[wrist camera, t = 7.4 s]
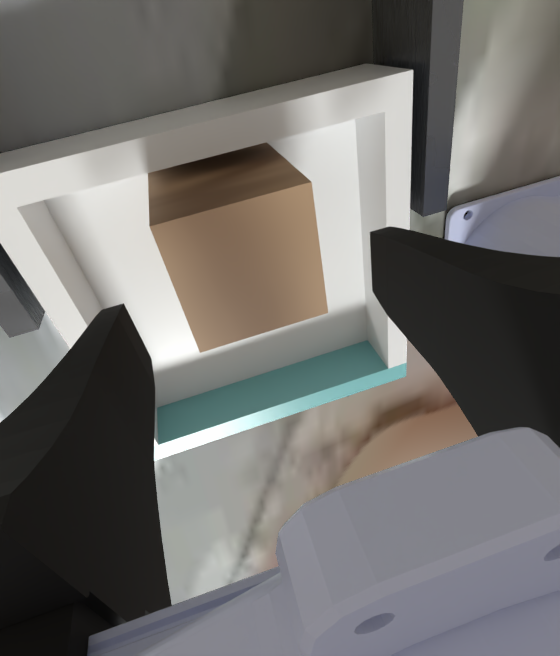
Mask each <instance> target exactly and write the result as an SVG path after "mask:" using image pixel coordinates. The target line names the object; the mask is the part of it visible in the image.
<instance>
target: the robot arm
mask: <svg viewBox="0 0 560 656" xmlns="http://www.w3.org/2000/svg"><path fill="white" fill-rule="evenodd" d="M467 211H468V213H467V215H466V216H465V217H464V214H465V213H466V212H467ZM370 250H371V273H372V291H373V293H374V295H375V296H376V298H377V300H378V301H379V303H380V305H381V306H382V308H383V309H384V311H385V312H386V314H387V315H388V317H389V318H390V319H391V320H392V321H393V323H394V324H395V325H396V326H397V327H398V328H399V330H400V331H401V332H402V333H403V334H404V335H405V337H406V338H407V339H408V340H409V341H410V342H411V343H412V345H413V346H414V347H415V348H416V349H417V350H418V352H419V353H420V354H421V355H422V356H423V357H424V358H425V360H426V361H427V362H428V363H429V364H430V365H431V367H432V368H433V369H434V370H435V372H436V373H437V374H438V376H439V377H440V378H441V380H442V381H443V383H444V384H445V386H446V387H447V389H448V390H449V392H450V393H451V395H452V396H453V398H454V399H455V400H456V402H457V404H458V405H459V407H460V408H461V410H462V411H463V413H464V414H465V416H466V418H467V419H468V421H469V422H470V424H471V425H472V427H473V429H474V430H475V432H476V434H477V435H478V437H476V438H473V439H470V440H467V441H464V442H461V443H459V444H456V445H453V446H450V447H447V448H444V449H442V450H439V451H436V452H433V453H430V454H428V455H425V456H422V457H419V458H416V459H413V460H411V461H408V462H405V463H402V464H400V465H396V466H394V467H391V468H388V469H385V470H382V471H380V472H377V473H374V474H371V475H368V476H365V477H363V478H360V479H357V480H354V481H351V482H349V483H346V484H343V485H340V486H337V487H335V488H333V489H331V490H329V491H327V492H325V493H323V494H321V495H319V496H317V497H316V498H314V499H312V500H310V501H308V502H306V503H304V504H303V505H302V506H301V507H300V508H299V509H298V510H297V511H296V512H295V513H294V514H293V515H292V516H291V518H290V519H289V520H288V521H287V522H286V523H285V524H284V525H283V526H282V528H281V530H280V531H279V533H278V540H277V547H276V556H277V560H278V564H279V566H278V567H275V568H273V569H270V570H267V571H264V572H262V573H259V574H256V575H254V576H251V577H248V578H245V579H243V580H240V581H237V582H235V583H232V584H229V585H226V586H224V587H221V588H218V589H216V590H213V591H210V592H208V593H205V594H202V595H199V596H197V597H194V598H191V599H189V600H186V601H183V602H180V603H178V604H175V605H171V599H170V592H169V586H168V580H167V573H166V566H165V559H164V551H163V544H162V537H161V528H160V520H159V511H158V503H157V492H156V482H155V471H154V434H155V381H154V373H153V366H152V359H151V357H150V355H149V353H148V351H147V349H146V347H145V345H144V343H143V341H142V339H141V337H140V335H139V333H138V331H137V329H136V327H135V325H134V323H133V321H132V319H131V317H130V315H129V313H128V311H127V309H126V307H125V305H124V303H123V304H120V305H116V306H113V307H109V308H106V309H102V310H101V311H100V312H99V313H98V314H97V315H96V316H95V318H94V319H93V320H92V322H91V323H90V324H89V325H88V327H87V328H86V329H85V331H84V332H83V333H82V335H81V336H80V337H79V339H78V340H77V341H76V342H75V344H74V345H73V346H72V348H71V349H70V350H69V351H68V353H67V354H66V355H65V356H64V358H63V359H62V360H61V361H60V362H59V363H58V365H57V366H56V367H55V368H54V369H53V370H52V372H51V373H50V374H49V375H48V376H47V377H46V379H45V380H44V381H43V382H42V383H41V384H40V385H39V386H38V387H37V389H36V390H35V391H34V392H33V393H32V394H31V395H30V396H29V397H28V398H27V399H26V400H25V401H24V402H23V403H21V404H20V405H19V406H18V407H17V408H16V409H15V410H14V411H13V412H12V413H11V414H10V415H9V416H8V417H7V418H5V419H4V420H3V421H2V422H1V423H0V656H560V176H558V177H554V178H551V179H547V180H544V181H540V182H537V183H534V184H530V185H527V186H523V187H520V188H516V189H513V190H510V191H506V192H503V193H499V194H496V195H493V196H489V197H486V198H482V199H479V200H475V201H472V202H469V203H465V204H462V205H458V206H455V207H453V208H452V209H451V210H450V211H449V212H448V214H447V217H446V227H445V239H442V238H438V237H434V236H431V235H427V234H423V233H419V232H415V231H411V230H407V229H403V228H398V227H391V226H389V227H385V228H382V229H378V230H375V231H372V232H370Z"/></svg>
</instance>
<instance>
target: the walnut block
mask: <svg viewBox="0 0 560 656" xmlns="http://www.w3.org/2000/svg"><path fill="white" fill-rule="evenodd" d="M148 196H149V227H150V229H151V232H152V234H153V237H154V239H155V242H156V244H157V247H158V249H159V252H160V254H161V257H162V259H163V262H164V264H165V267H166V269H167V272H168V274H169V277H170V279H171V282H172V284H173V287H174V289H175V292H176V294H177V297H178V299H179V302H180V304H181V307H182V309H183V312H184V314H185V317H186V319H187V322H188V324H189V327H190V329H191V332H192V334H193V337H194V339H195V342H196V344H197V347H198V349H199V352H200V353H201V352H204V351H208V350H211V349H214V348H217V347H220V346H224V345H227V344H230V343H233V342H237V341H240V340H243V339H246V338H249V337H253V336H256V335H259V334H262V333H265V332H269V331H272V330H275V329H278V328H281V327H285V326H288V325H291V324H294V323H297V322H301V321H304V320H307V319H310V318H313V317H317V316H320V315H323V314H326V313H328V306H327V299H326V291H325V283H324V275H323V267H322V259H321V252H320V244H319V236H318V228H317V220H316V212H315V204H314V197H313V189H312V182H311V181H310V180H309V179H308V178H307V177H306V176H304V175H303V174H302V173H301V172H300V171H299V170H298V169H296V168H295V167H294V166H293V165H292V164H291V163H290V162H289V161H287V160H286V159H285V158H284V157H283V156H282V155H281V154H279V153H278V152H277V151H276V150H275V149H274V148H273V147H271V146H270V145H269V144H268V143H267V142H266V143H262V144H258V145H254V146H250V147H247V148H243V149H239V150H235V151H231V152H227V153H223V154H220V155H216V156H212V157H208V158H204V159H200V160H197V161H193V162H189V163H185V164H181V165H177V166H173V167H170V168H166V169H162V170H158V171H154V172H150V173H148Z"/></svg>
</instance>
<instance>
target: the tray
mask: <svg viewBox="0 0 560 656" xmlns="http://www.w3.org/2000/svg"><path fill="white" fill-rule="evenodd" d="M412 104H413V70H412V69H405V68H397V67H390V66H382V65H375V64H367V63H366V64H362V65H358V66H354V67H350V68H346V69H342V70H338V71H334V72H329V73H325V74H321V75H317V76H313V77H309V78H305V79H301V80H297V81H293V82H289V83H285V84H281V85H277V86H272V87H268V88H264V89H260V90H256V91H252V92H248V93H244V94H240V95H236V96H232V97H228V98H224V99H220V100H215V101H211V102H207V103H203V104H199V105H195V106H191V107H187V108H183V109H179V110H175V111H171V112H167V113H163V114H158V115H154V116H150V117H146V118H142V119H138V120H134V121H130V122H126V123H122V124H118V125H114V126H110V127H105V128H101V129H97V130H93V131H89V132H85V133H81V134H77V135H73V136H69V137H65V138H61V139H57V140H53V141H48V142H44V143H40V144H36V145H32V146H28V147H24V148H20V149H16V150H12V151H8V152H4V153H0V243H1V245H2V246H3V248H4V249H5V251H6V252H7V254H8V255H9V257H10V259H11V260H12V262H13V263H14V265H15V266H16V268H17V269H18V271H19V272H20V274H21V275H22V277H23V278H24V280H25V281H26V283H27V284H28V286H29V287H30V289H31V290H32V292H33V293H34V295H35V296H36V298H37V300H38V301H39V303H40V304H41V306H42V307H43V309H44V310H45V312H46V313H47V315H48V316H49V318H50V319H51V321H52V322H53V324H54V325H55V327H56V328H57V330H58V331H59V333H60V334H61V336H62V337H63V339H64V341H65V342H66V344H67V345H68V347H69V348H70V349H71V348H72V346H73V345H74V344H75V342H76V341H77V340H78V339H79V337H80V336H81V335H82V333H83V332H84V331H85V329H86V328H87V327H88V325H89V324H90V323H91V322H92V320H93V319H94V318H95V316H96V315H97V314H98V313H99V312H100V311H101V310H102V309H106V308H109V307H113V306H116V305H120V304H123V303H124V305H125V307H126V309H127V311H128V313H129V315H130V317H131V319H132V321H133V323H134V325H135V327H136V329H137V331H138V333H139V335H140V337H141V339H142V341H143V343H144V345H145V347H146V349H147V351H148V353H149V355H150V357H151V359H152V366H153V373H154V381H155V434H154V461H155V460H158V459H161V458H164V457H167V456H170V455H173V454H176V453H179V452H182V451H185V450H188V449H191V448H194V447H197V446H200V445H203V444H206V443H209V442H212V441H215V440H218V439H221V438H224V437H227V436H230V435H233V434H236V433H239V432H242V431H244V430H247V429H250V428H253V427H256V426H259V425H262V424H265V423H268V422H271V421H274V420H277V419H280V418H283V417H286V416H289V415H292V414H295V413H298V412H301V411H304V410H307V409H310V408H313V407H316V406H319V405H322V404H325V403H328V402H331V401H334V400H337V399H340V398H343V397H346V396H349V395H352V394H355V393H358V392H361V391H364V390H367V389H370V388H373V387H376V386H379V385H382V384H385V383H388V382H391V381H394V380H397V379H400V378H403V377H406V358H407V338H406V337H405V335H404V334H403V333H402V332H401V331H400V330H399V328H398V327H397V326H396V325H395V324H394V323H393V321H392V320H391V319H390V318H389V317H388V315H387V314H386V312H385V311H384V309H383V308H382V306H381V305H380V303H379V301H378V300H377V298H376V296H375V295H374V293H373V291H372V273H371V250H370V232H372V231H375V230H378V229H382V228H385V227H389V226H391V227H398V228H403V229H407V230H410V188H411V146H412ZM266 142H267V143H268V144H269V145H270V146H271V147H273V148H274V149H275V150H276V151H277V152H278V153H279V154H281V155H282V156H283V157H284V158H285V159H286V160H287V161H289V162H290V163H291V164H292V165H293V166H294V167H295V168H296V169H298V170H299V171H300V172H301V173H302V174H303V175H304V176H306V177H307V178H308V179H309V180H310V181H311V182H312V189H313V197H314V204H315V212H316V220H317V228H318V236H319V244H320V252H321V259H322V267H323V275H324V283H325V291H326V299H327V306H328V313H326V314H323V315H320V316H317V317H313V318H310V319H307V320H304V321H301V322H297V323H294V324H291V325H288V326H285V327H281V328H278V329H275V330H272V331H269V332H265V333H262V334H259V335H256V336H253V337H249V338H246V339H243V340H240V341H237V342H233V343H230V344H227V345H224V346H220V347H217V348H214V349H211V350H208V351H204V352H201V353H200V352H199V349H198V347H197V344H196V342H195V339H194V337H193V334H192V332H191V329H190V327H189V324H188V322H187V319H186V317H185V314H184V312H183V309H182V307H181V304H180V302H179V299H178V297H177V294H176V292H175V289H174V287H173V284H172V282H171V279H170V277H169V274H168V272H167V269H166V267H165V264H164V262H163V259H162V257H161V254H160V252H159V249H158V247H157V244H156V242H155V239H154V237H153V234H152V232H151V229H150V227H149V196H148V173H150V172H154V171H158V170H162V169H166V168H170V167H173V166H177V165H181V164H185V163H189V162H193V161H197V160H200V159H204V158H208V157H212V156H216V155H220V154H223V153H227V152H231V151H235V150H239V149H243V148H247V147H250V146H254V145H258V144H262V143H266Z"/></svg>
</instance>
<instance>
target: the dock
mask: <svg viewBox="0 0 560 656" xmlns="http://www.w3.org/2000/svg"><path fill="white" fill-rule="evenodd" d="M463 1H464V0H372V15H373V52H374V64H375V65H382V66H390V67H397V68H405V69H412V70H413V104H412V146H411V188H410V208H411V209H412V210H414V211H415V212H417V213H418V214H420V215H421V216H423V217H424V216H428V215H431V214H434V213H438V212H441V211H445V210H447V197H448V185H449V173H450V160H451V148H452V136H453V124H454V111H455V99H456V87H457V74H458V62H459V50H460V37H461V25H462V13H463ZM44 313H45V310H44V309H43V307H42V306H41V304H40V303H39V301H38V300H37V298H36V296H35V295H34V293H33V292H32V290H31V289H30V287H29V286H28V284H27V283H26V281H25V280H24V278H23V277H22V275H21V274H20V272H19V271H18V269H17V268H16V266H15V265H14V263H13V262H12V260H11V259H10V257H9V255H8V254H7V252H6V251H5V249H4V248H3V246H2V245H1V243H0V325H1V327H2V328H3V329H4V331H5V332H6V333H7V335H8V336H9V337H14V336H17V335H21V334H24V333H27V332H31V331H34V330H38V329H39V327H40V324H41V321H42V319H43V316H44Z"/></svg>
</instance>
